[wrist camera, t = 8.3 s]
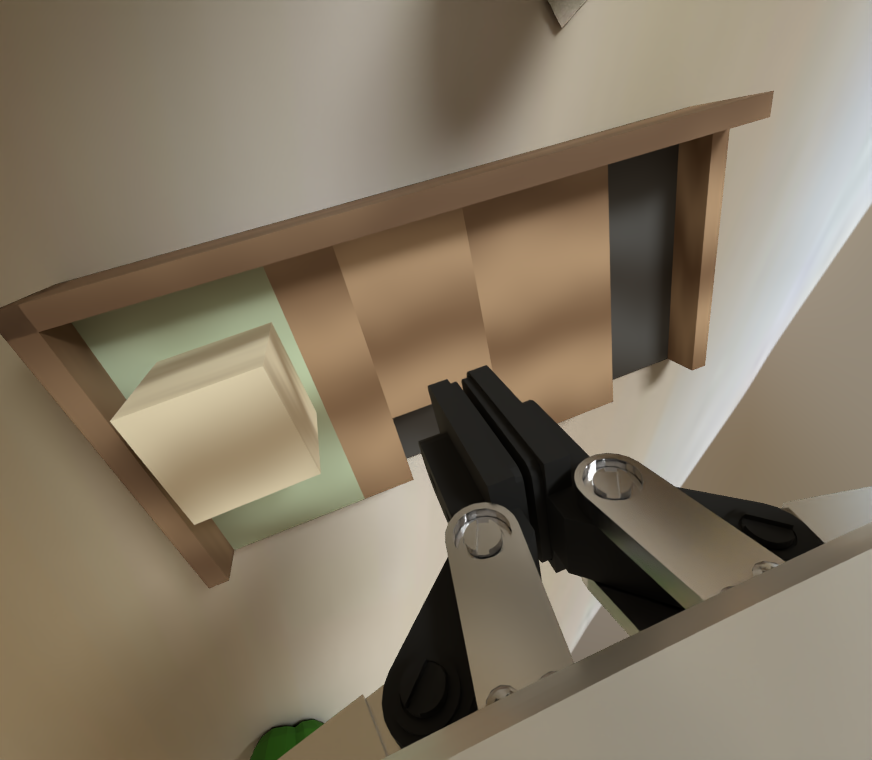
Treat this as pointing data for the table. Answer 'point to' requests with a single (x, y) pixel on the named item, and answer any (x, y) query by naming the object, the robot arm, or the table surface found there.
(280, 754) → the bell pepper
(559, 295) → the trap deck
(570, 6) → the condiment
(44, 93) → the table surface
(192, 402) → the birch block
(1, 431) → the table surface
